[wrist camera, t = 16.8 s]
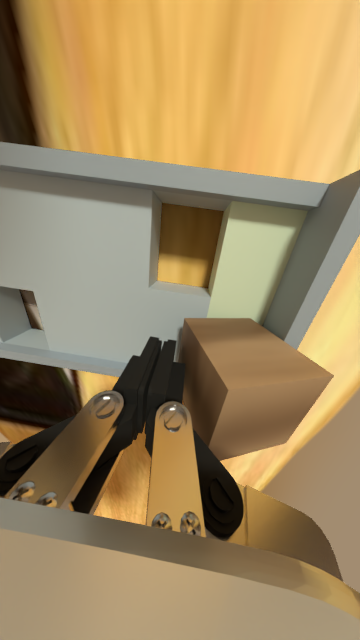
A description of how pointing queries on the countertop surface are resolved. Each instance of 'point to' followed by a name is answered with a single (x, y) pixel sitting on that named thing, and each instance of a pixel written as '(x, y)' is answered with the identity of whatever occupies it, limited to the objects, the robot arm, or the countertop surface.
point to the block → (245, 384)
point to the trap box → (156, 253)
